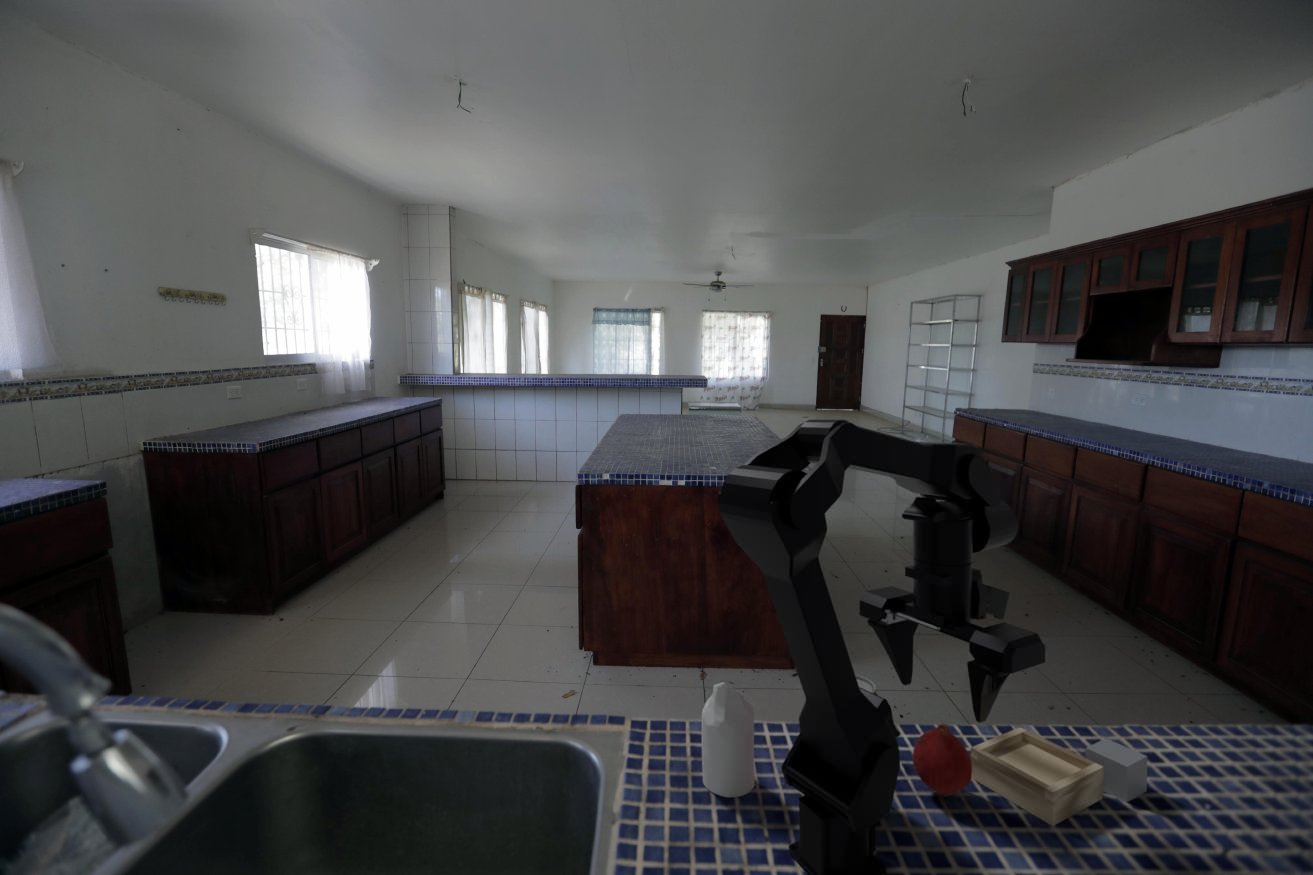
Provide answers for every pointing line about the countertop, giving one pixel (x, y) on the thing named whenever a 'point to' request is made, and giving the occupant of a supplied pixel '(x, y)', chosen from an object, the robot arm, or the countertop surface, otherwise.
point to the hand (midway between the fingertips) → (941, 701)
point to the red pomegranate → (942, 761)
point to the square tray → (1037, 775)
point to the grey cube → (1120, 769)
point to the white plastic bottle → (728, 743)
